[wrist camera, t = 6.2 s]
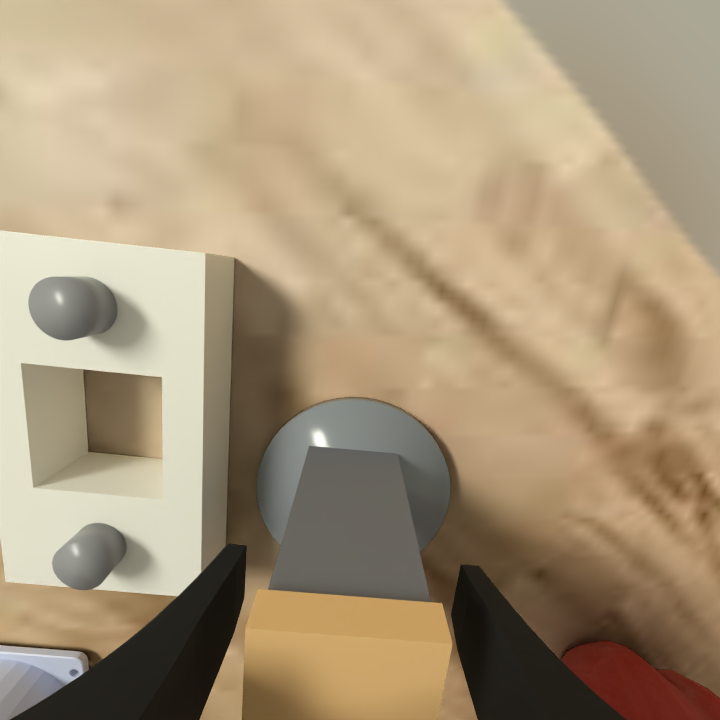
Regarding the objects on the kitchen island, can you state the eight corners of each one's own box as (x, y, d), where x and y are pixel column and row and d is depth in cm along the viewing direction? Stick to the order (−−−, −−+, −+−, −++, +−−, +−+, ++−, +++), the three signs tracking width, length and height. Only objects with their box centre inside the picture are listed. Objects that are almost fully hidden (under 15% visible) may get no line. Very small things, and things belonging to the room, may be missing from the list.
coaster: (432, 573, 19) (434, 582, 18) (255, 558, 19) (251, 567, 18) (462, 407, 17) (465, 412, 16) (264, 387, 17) (260, 391, 16)
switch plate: (225, 546, 18) (187, 624, 14) (62, 532, 18) (-24, 607, 14) (234, 257, 15) (189, 250, 11) (38, 235, 15) (-81, 220, 11)
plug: (391, 534, 18) (424, 790, 9) (298, 526, 18) (239, 778, 9) (402, 449, 17) (452, 643, 8) (305, 441, 17) (245, 628, 8)
